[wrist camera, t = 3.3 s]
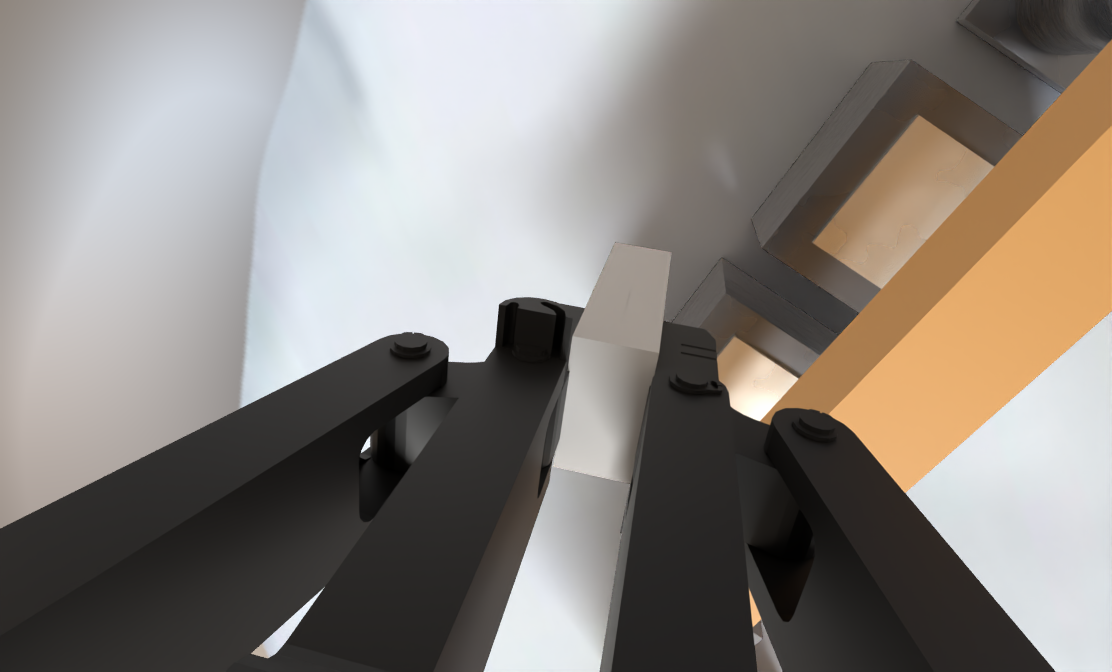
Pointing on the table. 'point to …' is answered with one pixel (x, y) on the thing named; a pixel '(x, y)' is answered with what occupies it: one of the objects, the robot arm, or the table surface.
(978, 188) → the cable arm
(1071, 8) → the pivot post
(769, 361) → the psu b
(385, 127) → the table surface
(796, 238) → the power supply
